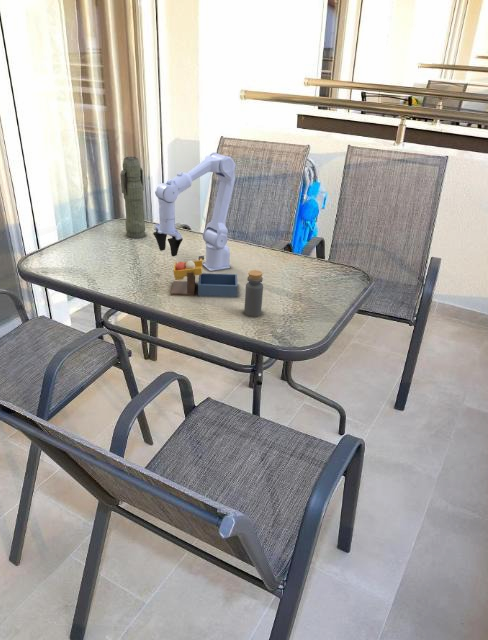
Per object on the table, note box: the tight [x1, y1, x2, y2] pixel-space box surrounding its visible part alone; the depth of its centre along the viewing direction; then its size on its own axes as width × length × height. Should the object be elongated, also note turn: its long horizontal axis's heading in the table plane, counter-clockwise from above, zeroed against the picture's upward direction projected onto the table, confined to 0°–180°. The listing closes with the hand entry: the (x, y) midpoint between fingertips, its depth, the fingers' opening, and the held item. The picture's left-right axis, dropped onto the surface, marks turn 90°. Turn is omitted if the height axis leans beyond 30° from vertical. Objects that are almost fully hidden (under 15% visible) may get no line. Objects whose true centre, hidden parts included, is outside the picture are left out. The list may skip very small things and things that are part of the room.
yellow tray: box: [172, 255, 205, 281], centre depth 189 cm, size 10×15×4 cm
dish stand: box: [170, 272, 196, 297], centre depth 188 cm, size 8×11×9 cm
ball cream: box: [185, 260, 195, 269], centre depth 186 cm, size 4×4×4 cm
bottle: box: [244, 269, 264, 317], centre depth 172 cm, size 6×6×15 cm
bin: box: [197, 272, 239, 298], centre depth 190 cm, size 14×11×4 cm
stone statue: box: [119, 156, 146, 239], centre depth 232 cm, size 9×12×35 cm
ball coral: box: [176, 261, 186, 270], centre depth 186 cm, size 4×4×4 cm
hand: (168, 252), depth 194 cm, fingers open, 7 cm apart
